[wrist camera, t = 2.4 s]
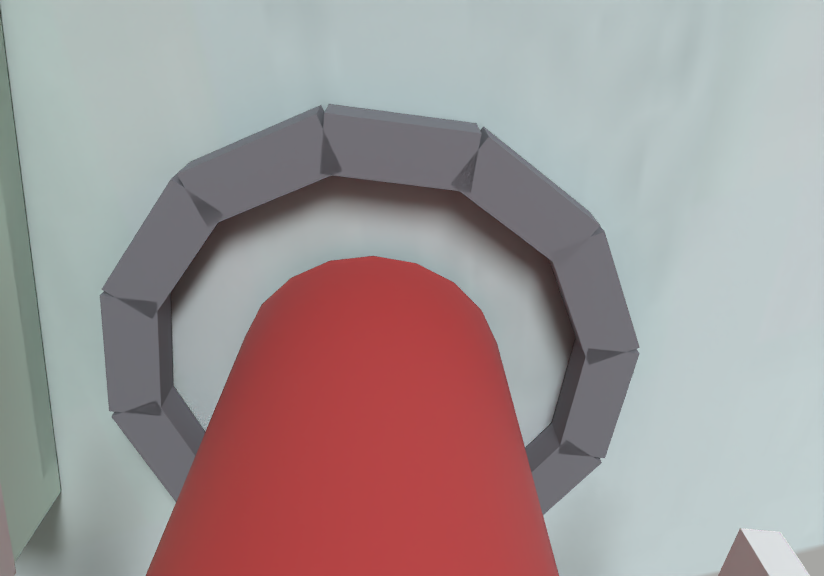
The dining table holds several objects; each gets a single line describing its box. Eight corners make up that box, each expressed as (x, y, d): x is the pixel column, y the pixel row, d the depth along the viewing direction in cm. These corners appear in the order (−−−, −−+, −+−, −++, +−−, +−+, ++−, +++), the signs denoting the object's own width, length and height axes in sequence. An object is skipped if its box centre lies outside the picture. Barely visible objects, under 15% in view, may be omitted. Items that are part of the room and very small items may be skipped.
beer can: (285, 208, 16) (26, 755, 5) (537, 293, 17) (798, 893, 6) (220, 422, 18) (-39, 1085, 7) (442, 483, 19) (499, 1136, 8)
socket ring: (132, 522, 20) (120, 549, 19) (103, 74, 14) (83, 81, 13) (556, 557, 21) (563, 584, 20) (684, 150, 15) (702, 161, 14)
